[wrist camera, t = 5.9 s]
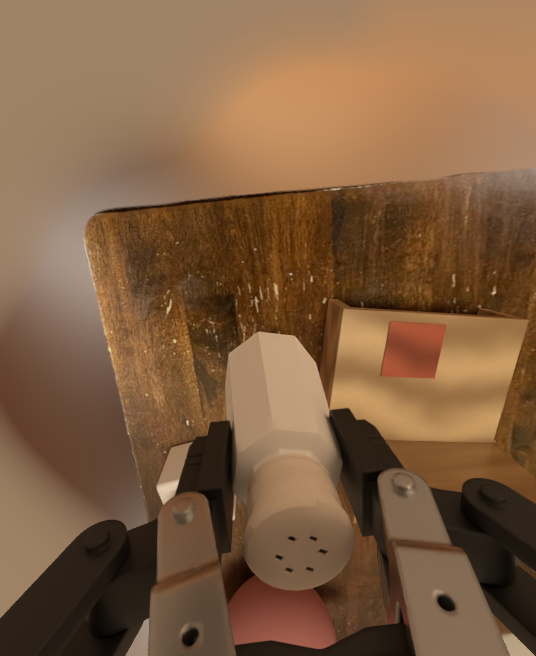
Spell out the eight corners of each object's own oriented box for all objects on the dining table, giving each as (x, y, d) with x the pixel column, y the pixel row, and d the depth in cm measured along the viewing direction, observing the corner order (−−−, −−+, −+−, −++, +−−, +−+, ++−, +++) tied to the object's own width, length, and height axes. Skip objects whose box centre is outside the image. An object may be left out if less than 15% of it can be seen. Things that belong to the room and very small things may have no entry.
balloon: (329, 629, 51) (362, 784, 37) (210, 611, 49) (194, 771, 34) (363, 558, 48) (415, 699, 33) (237, 535, 45) (232, 677, 30)
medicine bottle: (187, 489, 43) (164, 580, 31) (170, 446, 41) (139, 526, 29) (237, 476, 43) (233, 563, 31) (223, 432, 41) (213, 507, 29)
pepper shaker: (285, 429, 19) (332, 659, 9) (206, 391, 18) (147, 595, 8) (333, 357, 18) (455, 514, 8) (252, 311, 17) (259, 418, 7)
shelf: (328, 298, 37) (385, 337, 22) (487, 308, 39) (646, 351, 23) (313, 418, 41) (352, 523, 26) (457, 423, 43) (576, 525, 27)
